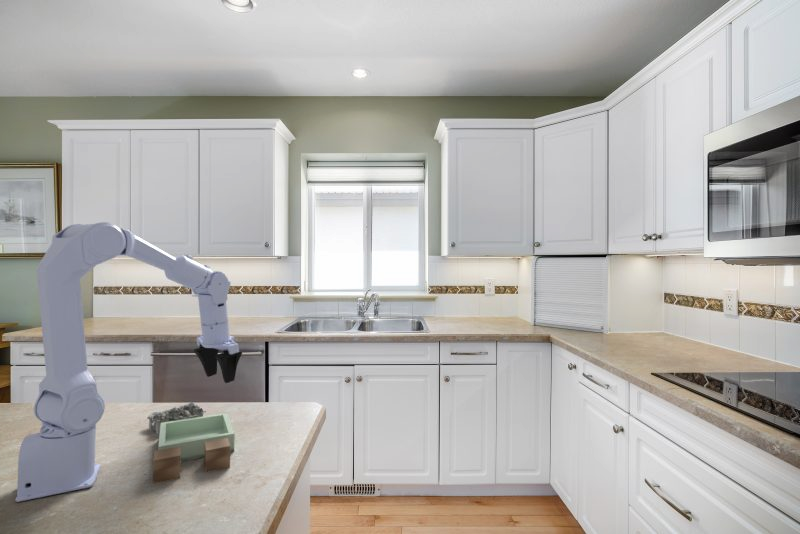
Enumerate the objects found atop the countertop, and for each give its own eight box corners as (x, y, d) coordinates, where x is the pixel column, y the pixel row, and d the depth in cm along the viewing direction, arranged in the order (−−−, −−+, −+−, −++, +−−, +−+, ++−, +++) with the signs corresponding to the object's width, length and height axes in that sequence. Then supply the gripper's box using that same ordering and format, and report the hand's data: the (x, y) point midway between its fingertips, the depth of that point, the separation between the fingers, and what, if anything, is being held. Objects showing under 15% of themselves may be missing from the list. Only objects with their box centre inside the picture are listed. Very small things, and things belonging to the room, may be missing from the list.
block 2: (205, 473, 70) (206, 450, 70) (204, 463, 73) (204, 442, 74) (229, 467, 72) (230, 445, 72) (227, 458, 75) (227, 437, 76)
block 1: (152, 484, 66) (153, 460, 66) (153, 473, 70) (154, 450, 70) (179, 478, 68) (180, 455, 68) (179, 468, 71) (180, 446, 72)
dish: (157, 466, 72) (158, 446, 72) (160, 439, 83) (160, 422, 83) (234, 451, 78) (234, 433, 78) (226, 428, 90) (227, 412, 90)
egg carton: (157, 438, 85) (158, 419, 85) (144, 428, 89) (145, 410, 89) (207, 423, 93) (207, 406, 93) (193, 415, 98) (193, 399, 98)
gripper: (248, 321, 90) (253, 378, 92) (214, 315, 99) (219, 367, 100) (219, 329, 84) (225, 389, 86) (185, 321, 93) (191, 377, 94)
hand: (220, 378), depth 93 cm, fingers open, 7 cm apart
